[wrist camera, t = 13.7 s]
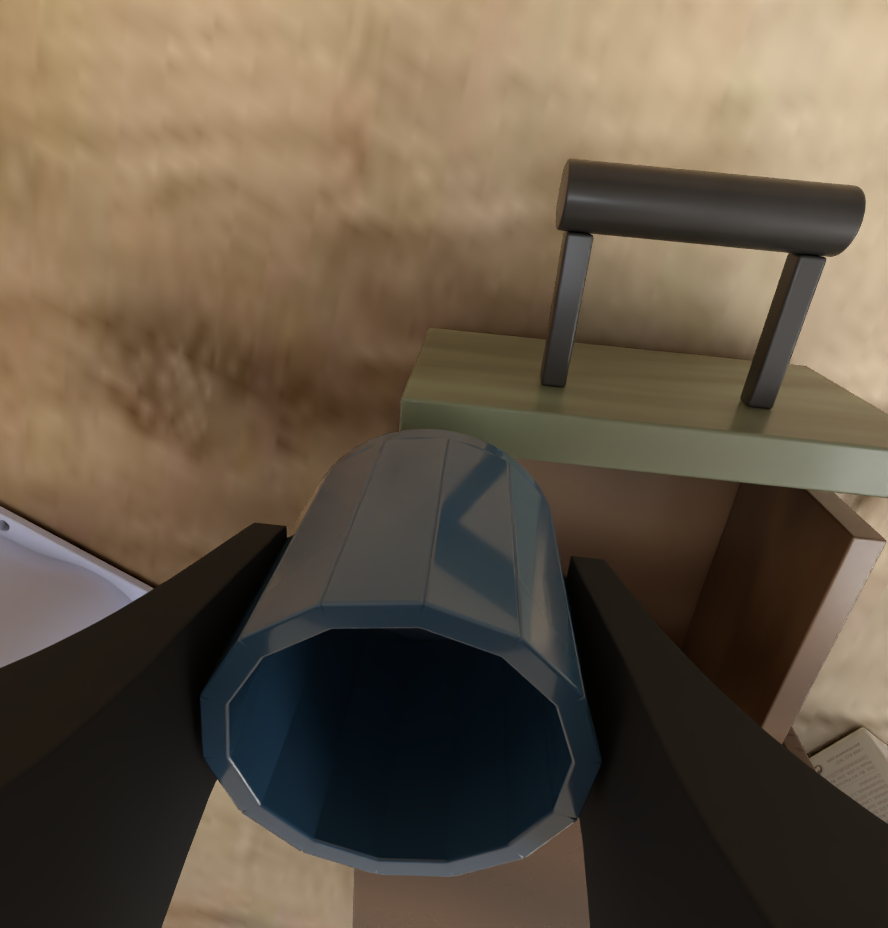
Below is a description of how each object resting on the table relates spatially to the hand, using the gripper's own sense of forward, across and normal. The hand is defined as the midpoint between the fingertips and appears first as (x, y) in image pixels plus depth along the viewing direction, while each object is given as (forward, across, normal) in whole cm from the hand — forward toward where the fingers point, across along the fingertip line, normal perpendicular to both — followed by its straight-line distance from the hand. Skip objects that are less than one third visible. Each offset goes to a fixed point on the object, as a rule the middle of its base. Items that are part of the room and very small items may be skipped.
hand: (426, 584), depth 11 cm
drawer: (+10, -5, +1) cm, 11 cm away
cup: (+2, 0, 0) cm, 2 cm away
